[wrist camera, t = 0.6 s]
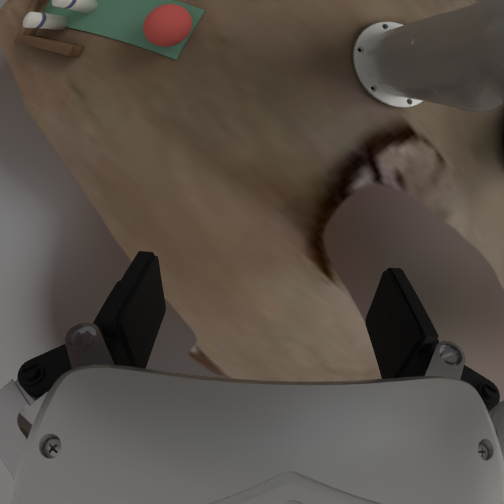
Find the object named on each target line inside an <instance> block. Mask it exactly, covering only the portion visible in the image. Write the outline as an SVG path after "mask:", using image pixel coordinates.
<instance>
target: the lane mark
mask: <svg viewBox="0 0 504 504" xmlns="http://www.w3.org/2000/svg"><path fill="white" fill-rule="evenodd" d="M96 1H97V3H98V5H97V8H96V10H95V11H94V12H92V13H90V14H87V13H83V12H78V11H74V10H70V9H64V8H60V7H55V6H53V5H52V0H49V2H48V4H47V6H46V8H45V10H44V12H43V13H46V14H53V15H59V16H65V17H67V18H68V24H67V26H66V27H68V28H73V29H78V30H82V31H86V32H90V33H94V34H98V35H102V36H106V37H109V38H113V39H116V40H120V41H123V42H126V43H130V44H133V45H136V46H139V47H142V48H145V49H148V50H151V51H153V52H156V53H159V54H162V55H164V56H167V57H170V58H172V59H175V60H177V58H178V56H179V55H180V53H181V51H182V49H183V47H184V46H185V44H186V42H187V40H188V39H189V37H190V35H191V33H192V32H193V30H194V28H195V27H196V25H197V23H198V22H199V20H200V19H201V17H202V15H203V14H204V12H205V10H203V9H200V8H197V7H194V6H191V5H188V4H185V3H182V2H179V1H175V0H96ZM165 4H176V5H179V6H182V7H183V8H185V9H186V10H187V11H188V12H189V14H190V15H191V18H192V27H191V30H190V32H189V34H188V36H187V37H186V38H185V39H184V40H183V41H181V42H180V43H178V44H176V45H173V46H167V47H162V46H157V45H155V44H153V43H151V42H150V41H149V40H148V39H147V38H146V37H145V34H144V31H143V24H144V21H145V19H146V17H147V15H148V14H149V13H150V12H151V11H152V10H154V9H155V8H157V7H159V6H161V5H165Z"/></svg>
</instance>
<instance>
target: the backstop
mask: <svg viewBox="0 0 504 504" xmlns="http://www.w3.org/2000/svg"><path fill="white" fill-rule="evenodd" d="M48 2H49V0H32V2H31V4H30V6H29V8H28V11H27V13H26V15H27V14H28V13H29V12H40V13H43V12H44V10H45V8H46V6H47V4H48ZM26 15H25V16H26ZM36 30H37V28H25V27H24V26H23V22H22V25H21V27H20V30H19V32H18V35H17V38H16V40H15V43H17V44H22V45H26V46H31V47H35V48H40V49H44V50H48V51H52V52H56V53H59V54H63V55H67V56H80V55H81V53H82V50H83V48H84V47H83V46H79V45H76V44H72V43H68V42H64V41H59V40H55V39H51V38H46V37H41V36H36V35H35V33H36Z"/></svg>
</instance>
